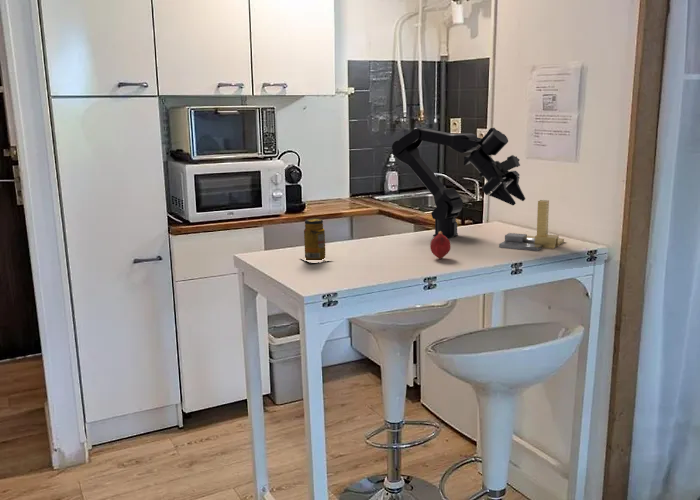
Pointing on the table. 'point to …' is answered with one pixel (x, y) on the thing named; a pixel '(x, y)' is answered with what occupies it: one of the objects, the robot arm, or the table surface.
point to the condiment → (314, 239)
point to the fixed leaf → (520, 242)
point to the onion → (440, 245)
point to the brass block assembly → (545, 228)
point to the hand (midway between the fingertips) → (519, 202)
